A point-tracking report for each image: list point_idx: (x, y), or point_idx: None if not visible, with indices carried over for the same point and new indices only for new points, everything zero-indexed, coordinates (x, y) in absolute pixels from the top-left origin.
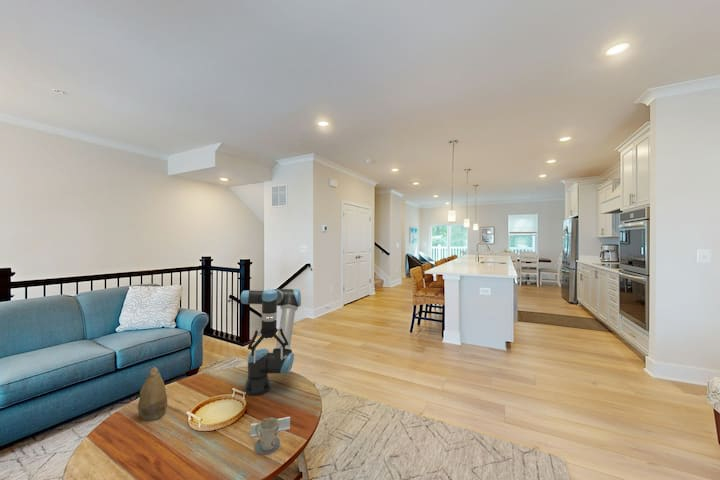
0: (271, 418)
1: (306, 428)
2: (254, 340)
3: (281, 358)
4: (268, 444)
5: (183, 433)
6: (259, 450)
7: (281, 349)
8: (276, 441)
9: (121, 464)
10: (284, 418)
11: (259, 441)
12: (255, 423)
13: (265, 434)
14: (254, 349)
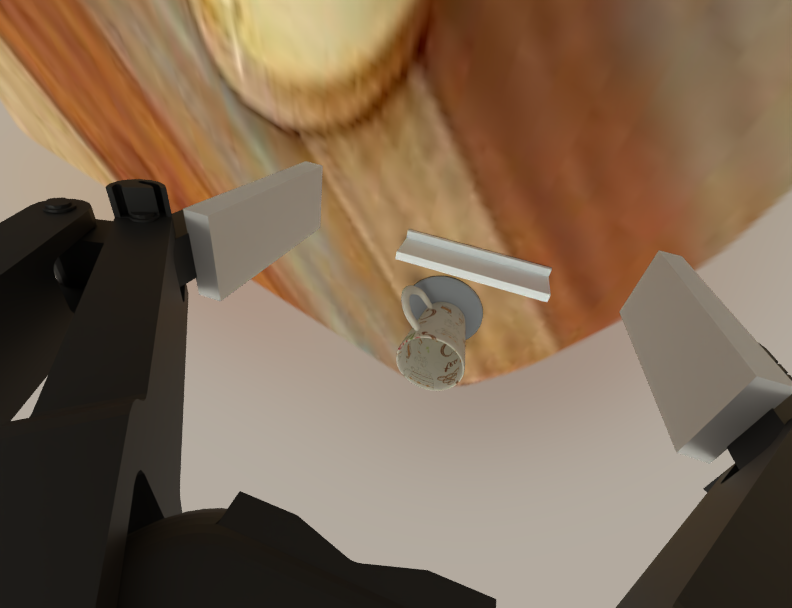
0: (446, 343)
1: (597, 318)
2: (4, 421)
3: (628, 322)
4: (432, 349)
5: (198, 90)
6: (416, 319)
7: (667, 417)
8: (471, 317)
9: (102, 160)
10: (524, 293)
11: (424, 287)
12: (413, 256)
13: (414, 369)
14: (199, 258)
